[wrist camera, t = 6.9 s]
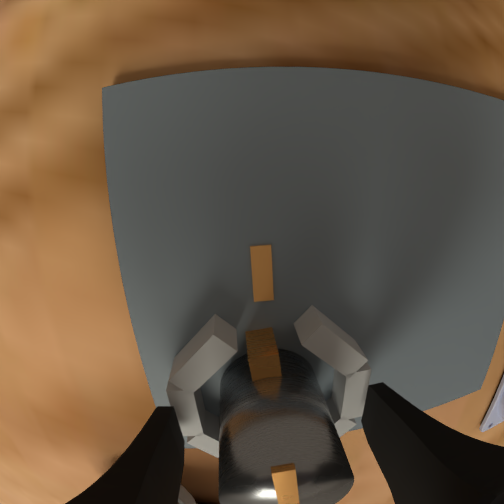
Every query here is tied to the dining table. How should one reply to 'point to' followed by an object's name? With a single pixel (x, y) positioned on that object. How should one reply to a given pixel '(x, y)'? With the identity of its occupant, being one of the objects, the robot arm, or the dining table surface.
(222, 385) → the knob
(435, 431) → the robot arm
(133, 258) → the hub board
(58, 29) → the dining table surface
